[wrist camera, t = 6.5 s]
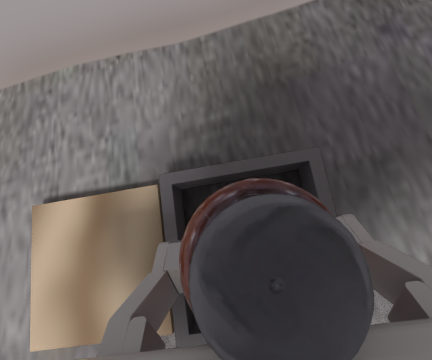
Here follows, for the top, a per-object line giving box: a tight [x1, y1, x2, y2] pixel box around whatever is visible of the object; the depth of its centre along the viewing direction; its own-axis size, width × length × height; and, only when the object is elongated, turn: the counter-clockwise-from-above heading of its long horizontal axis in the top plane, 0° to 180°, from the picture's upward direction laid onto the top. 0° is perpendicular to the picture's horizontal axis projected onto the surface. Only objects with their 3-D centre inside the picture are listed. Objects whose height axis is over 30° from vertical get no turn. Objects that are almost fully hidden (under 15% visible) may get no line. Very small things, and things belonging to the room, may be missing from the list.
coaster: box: [30, 185, 175, 352], centre depth 16 cm, size 10×10×1 cm
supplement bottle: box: [179, 178, 374, 360], centre depth 10 cm, size 6×6×11 cm
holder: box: [159, 147, 337, 348], centre depth 14 cm, size 11×11×2 cm
